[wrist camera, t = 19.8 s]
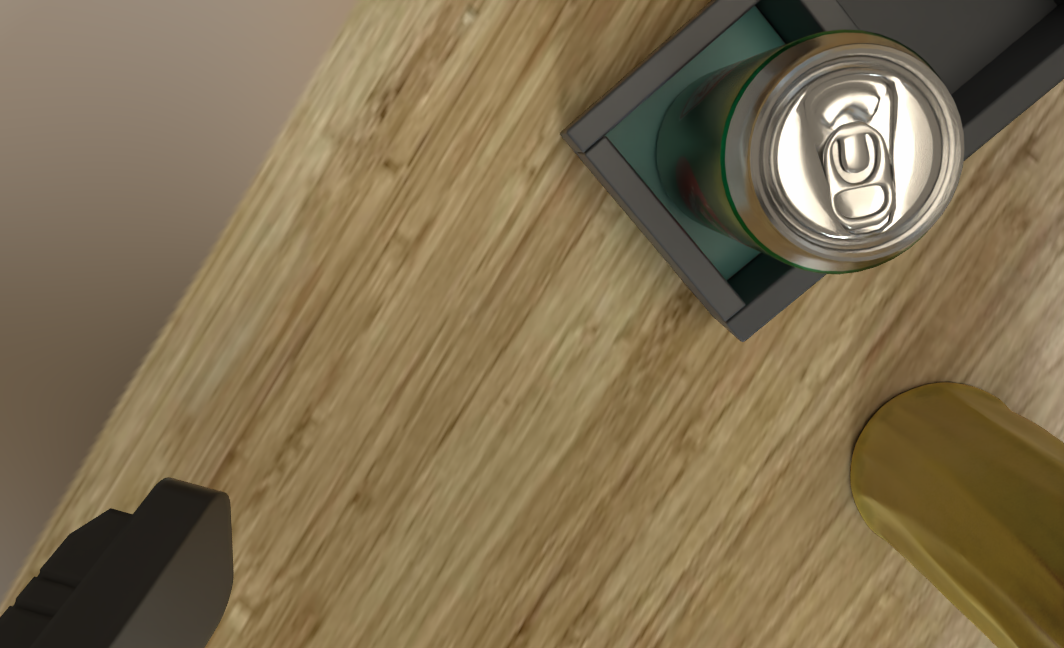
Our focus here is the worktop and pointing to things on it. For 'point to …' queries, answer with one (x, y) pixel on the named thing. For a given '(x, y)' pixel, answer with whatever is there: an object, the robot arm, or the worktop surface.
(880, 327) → the worktop surface
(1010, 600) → the vase
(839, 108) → the soda can
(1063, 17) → the holder
